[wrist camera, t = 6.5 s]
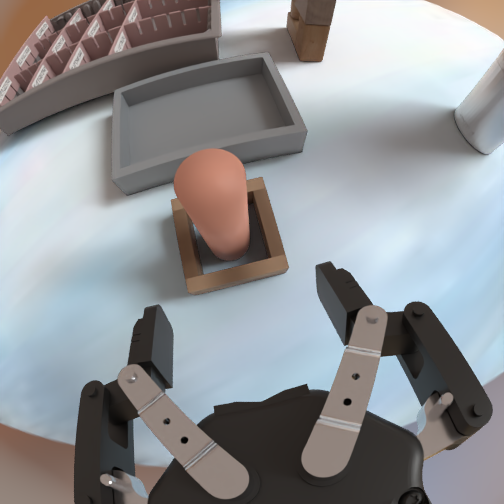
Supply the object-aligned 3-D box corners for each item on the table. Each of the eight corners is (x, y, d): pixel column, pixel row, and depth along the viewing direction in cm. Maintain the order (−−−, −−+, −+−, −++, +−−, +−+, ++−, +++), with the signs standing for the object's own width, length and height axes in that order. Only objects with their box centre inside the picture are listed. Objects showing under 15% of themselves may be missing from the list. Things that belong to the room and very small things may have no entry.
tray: (267, 73, 33) (268, 51, 29) (301, 151, 30) (307, 131, 26) (124, 108, 32) (114, 90, 28) (127, 195, 29) (111, 180, 25)
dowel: (244, 216, 28) (236, 141, 15) (254, 255, 27) (254, 202, 15) (205, 226, 28) (169, 158, 15) (213, 265, 27) (179, 221, 14)
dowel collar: (261, 190, 29) (262, 176, 26) (285, 272, 27) (289, 267, 24) (178, 211, 28) (170, 199, 25) (195, 295, 26) (188, 292, 24)
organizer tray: (226, 80, 33) (220, 23, 23) (8, 144, 32) (-23, 116, 23) (220, -5, 40) (217, -40, 30) (58, 42, 39) (43, 16, 30)
